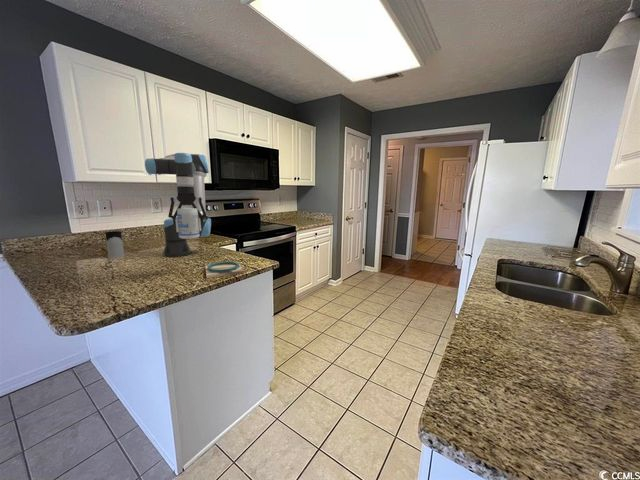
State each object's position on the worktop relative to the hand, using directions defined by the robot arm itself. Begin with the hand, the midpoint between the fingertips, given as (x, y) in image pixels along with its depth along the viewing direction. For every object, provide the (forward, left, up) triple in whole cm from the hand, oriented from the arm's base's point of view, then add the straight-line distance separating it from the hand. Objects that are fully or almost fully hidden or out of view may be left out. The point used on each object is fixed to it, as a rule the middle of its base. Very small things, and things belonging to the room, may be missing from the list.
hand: (189, 231), depth 133 cm
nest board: (+8, +15, -20) cm, 26 cm away
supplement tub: (0, 0, -3) cm, 3 cm away
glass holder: (-49, -43, -20) cm, 68 cm away
